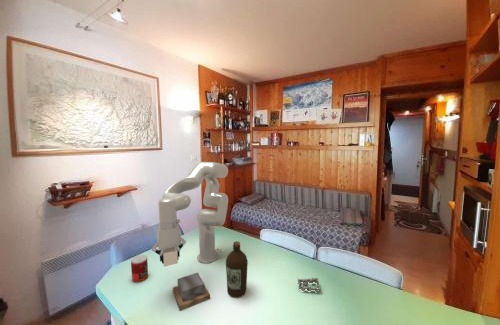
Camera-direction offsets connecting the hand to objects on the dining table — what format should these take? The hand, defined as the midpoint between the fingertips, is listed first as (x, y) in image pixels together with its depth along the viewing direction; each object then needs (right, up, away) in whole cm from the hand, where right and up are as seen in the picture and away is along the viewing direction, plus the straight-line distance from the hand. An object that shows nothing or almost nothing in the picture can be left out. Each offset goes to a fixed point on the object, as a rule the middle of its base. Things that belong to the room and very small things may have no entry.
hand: (170, 259), depth 101 cm
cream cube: (0, -1, 0) cm, 1 cm away
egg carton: (+68, -17, +6) cm, 70 cm away
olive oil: (+32, -17, +4) cm, 36 cm away
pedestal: (+10, -17, +1) cm, 20 cm away
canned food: (-21, -16, +14) cm, 30 cm away
